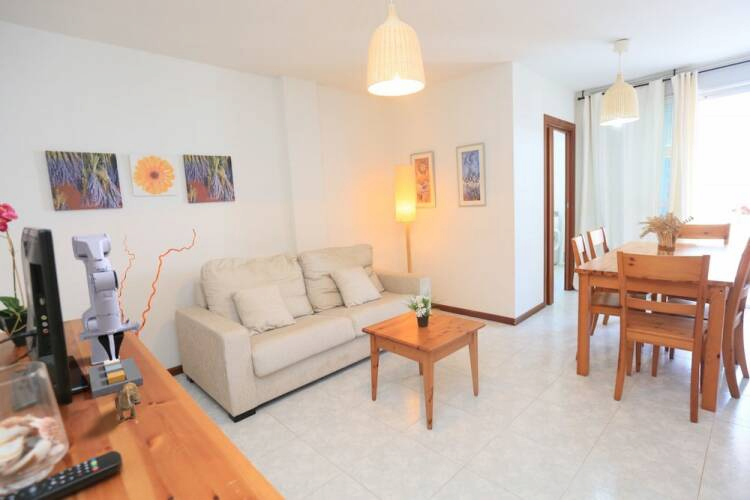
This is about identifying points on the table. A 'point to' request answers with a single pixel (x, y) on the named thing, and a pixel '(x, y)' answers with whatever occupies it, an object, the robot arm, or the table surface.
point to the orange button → (116, 377)
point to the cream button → (111, 362)
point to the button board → (103, 388)
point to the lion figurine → (127, 400)
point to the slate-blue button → (113, 369)
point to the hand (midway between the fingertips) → (113, 358)
